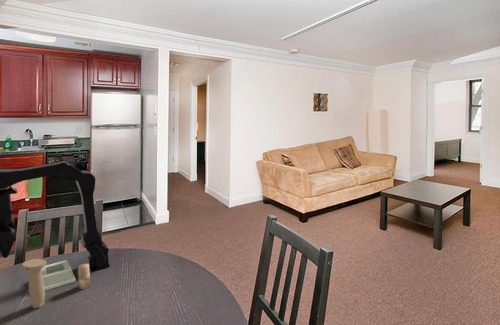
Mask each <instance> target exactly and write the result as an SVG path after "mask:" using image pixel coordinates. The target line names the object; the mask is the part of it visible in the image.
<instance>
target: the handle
mask: <svg viewBox="0 0 500 325" xmlns="http://www.w3.org/2000/svg"><path fill="white" fill-rule="evenodd" d="M46 265H47V261H46V260H45V259H43V258H34V259H32V258H31V259H29V260H25V261H24V262H23V263H22V269H23V270H24V271H26V272H28V293H29V300H30V303H31V306H32V308H33V309H39V308H42V307H43V306H44V305H45V298H46V294H45V293H46V290H45V288H44V282H43V277H42V268H44V267H45V266H46Z"/></svg>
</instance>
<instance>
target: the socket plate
mask: <svg viewBox="0 0 500 325" xmlns="http://www.w3.org/2000/svg"><path fill="white" fill-rule="evenodd" d="M72 269H73V268H72V267H71V265H70V264H69V261H68V260H67V259H65V260H63V261H62V260H61V261H58V262H55V263H51V264H46V266H45V267H44V268H42V277H43V282H44V288H45V291H47V290H51V289H52V290H53V289H54V288H58V287H62V286H65V285H68V284H72V283H75V282H76V281H77V280H76V277H75V274H74V272H73V270H72Z"/></svg>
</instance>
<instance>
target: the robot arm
mask: <svg viewBox="0 0 500 325" xmlns="http://www.w3.org/2000/svg"><path fill="white" fill-rule="evenodd" d="M60 174H63V175H66V176H67V177H68V178H71V179H72V180H74V181H75V183H76V186H77V188H78V192H79V194H80V198H81V199H80V200H81V205H82V206H81V207H82V215H83V222H84V230H83V232H80V233H79V235H80V237H81V240H80V243H81V245H82V247H83V249H86V251H87V252H88V253H89V256H87V261H88V263H87V264H89V270H91V271H92V272H96V271H100V270H102V269H106V268H109V267H111V266H110V263H109V250H110V249H109V247H108V246H107V244H106V243H105V242H104V241H103V240H102V238H101V235H100V233H99V230H98V226H97V218H96V208H95V200H94V193H95V189H96V177H95V175H94V174H92V173H91V172H90V171H87V170H80V169H79V168H78V167H75V166H73V165H72V164H69V162H67V161H64V160H62V161H58V162H54V163H48V164H47V163H46V164H42V165H35V166H31V167H25V168H23V167H22V168H0V254H1V256H2V258H3V259H7V258H8V257H9V255H10V253H11V250H12V247H13V245H14V243H15V241H16V238H17V237H16V229H15V216H13V208H12V207H13V206H12V198H11V195H16V194H18V190H17V189H16V188H14V187H13V186H14V185H16V184H18V183H21V182H23V181H29V180H36V179H40V178H45V177H50V176H51V177H52V176H55V175H60Z"/></svg>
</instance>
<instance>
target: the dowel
mask: <svg viewBox="0 0 500 325" xmlns="http://www.w3.org/2000/svg"><path fill="white" fill-rule="evenodd" d="M77 271H78V285H79V286H78V287H79V290H87V289H88V288H90V287H91V278H90V277H91V276H90V275H91V274H90V268H89V264H88V263H81V264H79V265H78V266H77Z"/></svg>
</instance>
